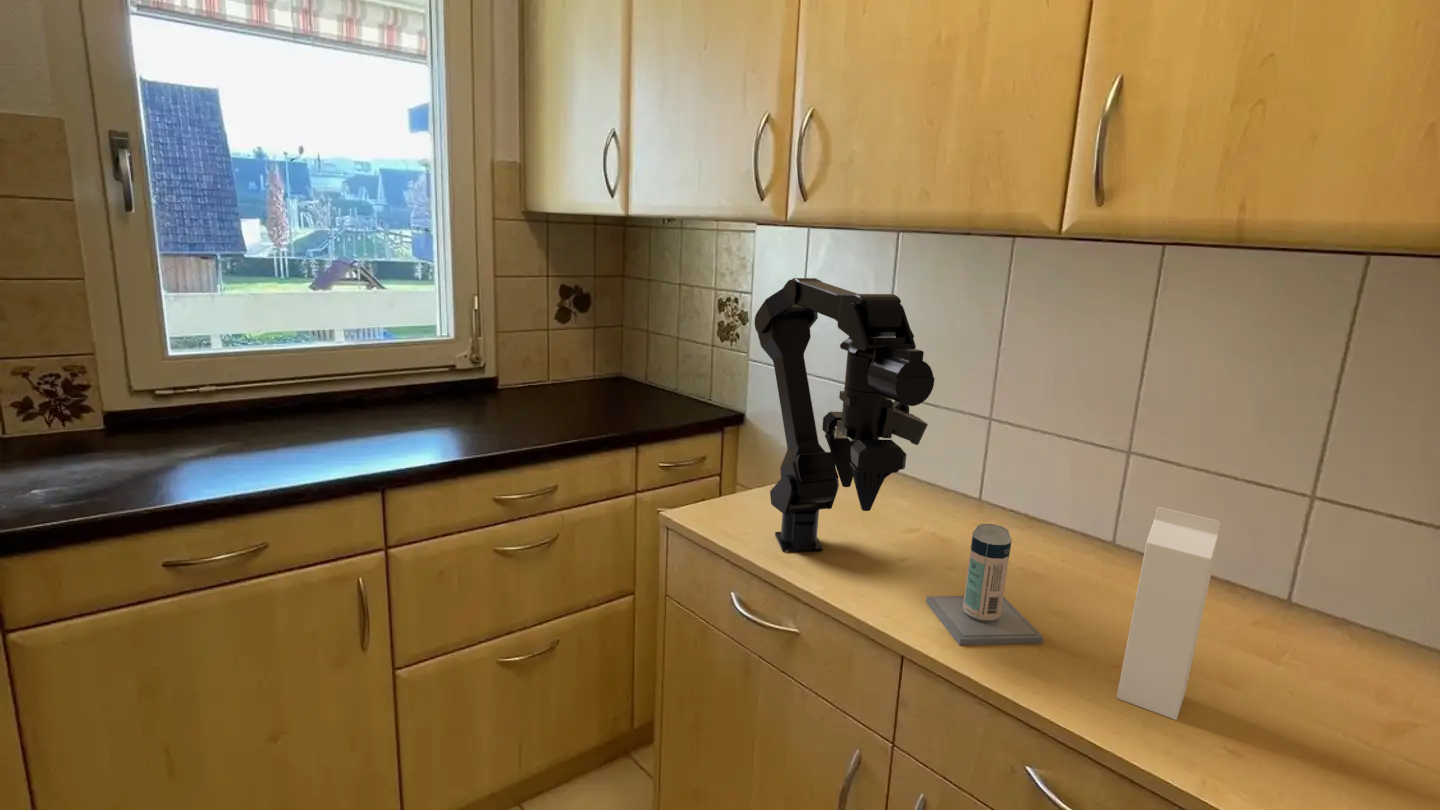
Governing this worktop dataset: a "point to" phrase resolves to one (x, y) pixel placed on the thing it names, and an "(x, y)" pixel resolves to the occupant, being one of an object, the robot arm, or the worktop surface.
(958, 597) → the trivet
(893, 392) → the robot arm
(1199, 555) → the milk
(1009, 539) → the beer can
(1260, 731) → the worktop surface
